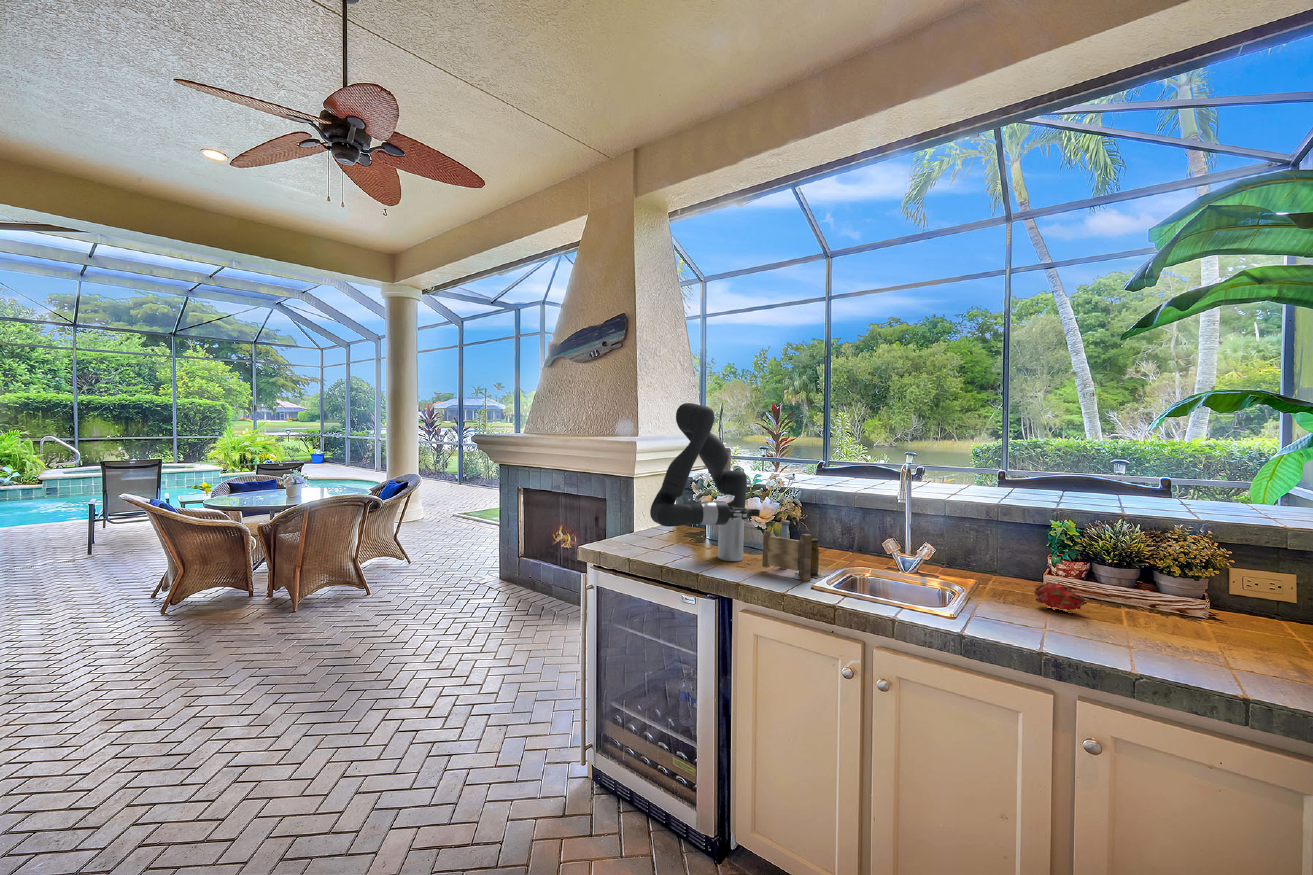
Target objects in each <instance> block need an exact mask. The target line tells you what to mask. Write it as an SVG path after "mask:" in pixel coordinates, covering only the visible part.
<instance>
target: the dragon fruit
mask: <svg viewBox="0 0 1313 875" xmlns="http://www.w3.org/2000/svg"><path fill="white" fill-rule="evenodd" d="M1033 593H1034V595H1035V596H1036V597H1037V598H1035V601H1036V602H1037V603H1038V604H1045V606H1046V605H1048V606H1050V607H1057V608H1060V609H1067V610H1069V611H1072V610H1073V611H1074V610H1079V609H1080V610H1081V607H1082V606H1084V605H1087V604H1088V602H1087V601H1086V599H1085V597H1083V596H1082V595H1080V594H1077V593H1075V591H1074V590H1072V588H1070V587H1069V585H1067V584H1065V585H1062V584H1061V583H1060V582H1057V583H1056V582H1052V583H1051V582H1050V581H1046V582H1045V583H1043V582H1042V583H1040V585H1038V586H1036V587H1035V590H1033ZM1076 608H1077V609H1076Z"/></svg>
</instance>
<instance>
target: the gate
mask: <svg viewBox="0 0 1313 875" xmlns="http://www.w3.org/2000/svg"><path fill="white" fill-rule="evenodd" d="M762 536H763V538H762V564H761V565H762V566H761V567H763V568H769V567H770V566H772V567H777V568H780V567H781V568H786V569H785V570H787V569H788V570H792V571H795V572H799V574H798V576H799V577H800V556H801V535H800V536H799V539H792V538H788V539H787V538H781V536H780V537H779V536H774V535H771V530H768V529H765V530H763V535H762Z"/></svg>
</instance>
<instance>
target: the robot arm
mask: <svg viewBox="0 0 1313 875" xmlns="http://www.w3.org/2000/svg"><path fill="white" fill-rule="evenodd" d="M714 412H715V411H714V410H713V409H712V408H711V407H710V406H705V405H702V404H696V403H692V402H684V403H683V404H680V405H679V406H678V408H677V409H676V413H675V422H676V425H677V427H678V428H679V430H680V431H681V433H682V434H684V436H685V437H686V438H687V439H688V440H689V443H688V445H686V447H685V448H684V449H683V450H682V451H681V452H680V454H678V455H677V456H676V457H675V458H674V459H673V460H672V461H671V462H670V464H669V466H668V467H667V470H666V473H665V476H664V479H663V481H662V485H661V487H660V489H659V490H658V492H657V494H656V495H655V498H654V500H653V501H652V503H651V507H650V510H649V514H650V518H651V520H652V521H653V522H654V523H656V524H659V525H660V526H663V527H666V528H667V527H668V528H669V527H679V526H684V525H690V526H691V525H692V526H693V525H695V526H697V525H701V526H715V525H716V526H718V539H717V542H718V543H717V558H718V559H719V560H722V561H726V562H727V561H728V562H740V561H742V560H744V539H745V538H744V537H745V536H744V534H745V533H744V532H745V530H744V529H745V520H748V519H751V518H752V517H760V514H761V510H760V509H757V508H747V507H746V500H747V499H746V498H747V488H748V487H747V485H748V484H747V483H748V480H747V479H748V478H747V474H746V473H745V471H742V470H731V469H729V470H728V469H725V468H726V465H727V464H728V460H729V453H728V450H727V448H726V447H725V445H724V443H723V441H722V440H721V438H719V437H718V436H717V435H715V434H714V433H713V432H712V428H713V426H714V422H715V413H714ZM698 457H699V458H700V459H701V461H702V462H703V465H704V466H705V467H706V469H707V470H708V471H709V475H710V476H711V478H712V481H713V483H714V486H715V487H716V489H717V491H718V493H720V494H722V495H729V496H734V497H733V499H732V500H731V501H730V502H726V501H724V500H723V501H721V500H720V501H719V500H716V501H715V500H714V501H713V500H712V501H711V500H709V501H707V500H706V501H697V502H696V501H693V502H691V501H689V502H684V503H679V504H678V503H676V502H677V501H676V500H677V499H678V498H680V497H682V495H683V494H684V492H685V489H686V485H687V483H688V479H689V477H690V474H691V472H692V470H693V467H694V464H695V463H696V460H697V458H698Z"/></svg>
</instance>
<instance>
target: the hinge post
mask: <svg viewBox="0 0 1313 875" xmlns="http://www.w3.org/2000/svg"><path fill="white" fill-rule="evenodd" d="M800 536H801V556H800V576H799V581H802V582H804V583H805V582H806V583H807V582H811V577H810V576H811V549H812V538H813V535H812V534H809V533H801V534H800Z"/></svg>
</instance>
